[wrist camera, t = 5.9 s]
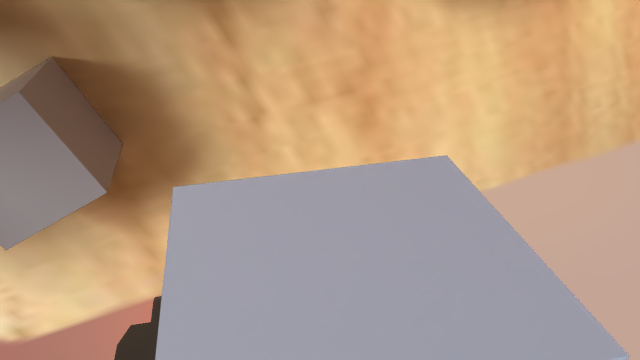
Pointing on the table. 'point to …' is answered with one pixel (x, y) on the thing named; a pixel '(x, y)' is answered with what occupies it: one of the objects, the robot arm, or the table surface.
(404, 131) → the table surface
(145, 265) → the table surface
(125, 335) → the robot arm
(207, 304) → the slate blue block
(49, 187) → the charcoal block
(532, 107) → the table surface
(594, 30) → the table surface
